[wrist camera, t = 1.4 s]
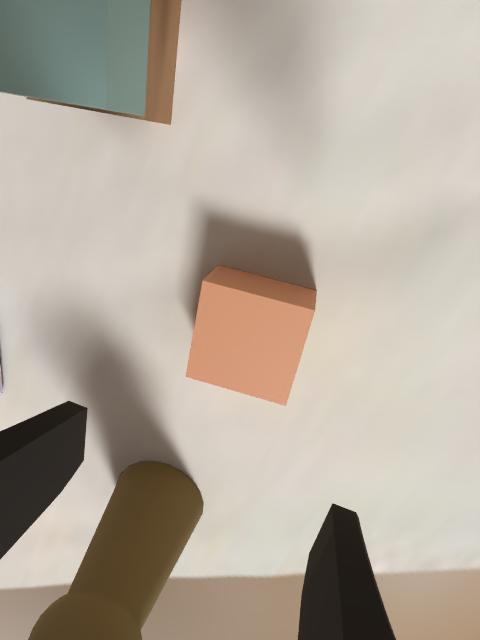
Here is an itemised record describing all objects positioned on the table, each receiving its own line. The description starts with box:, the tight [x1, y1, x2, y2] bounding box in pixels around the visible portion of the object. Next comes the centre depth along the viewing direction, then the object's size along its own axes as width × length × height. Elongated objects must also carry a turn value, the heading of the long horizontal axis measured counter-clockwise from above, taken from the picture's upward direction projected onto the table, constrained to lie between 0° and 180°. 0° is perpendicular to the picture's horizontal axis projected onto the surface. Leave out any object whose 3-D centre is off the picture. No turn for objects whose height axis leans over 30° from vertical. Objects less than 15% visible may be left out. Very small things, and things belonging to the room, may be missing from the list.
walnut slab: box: [27, 0, 181, 125], centre depth 16 cm, size 5×5×3 cm
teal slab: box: [0, 0, 151, 116], centre depth 13 cm, size 5×5×3 cm
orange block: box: [186, 265, 317, 406], centre depth 20 cm, size 5×5×3 cm
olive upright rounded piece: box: [28, 461, 203, 640], centre depth 22 cm, size 6×6×11 cm
